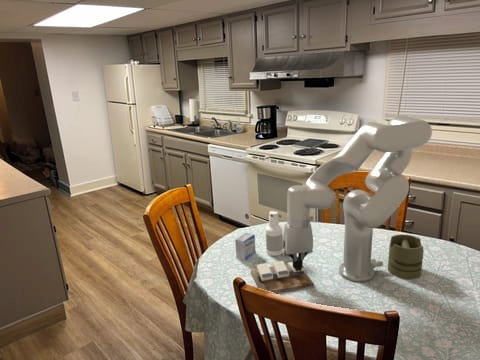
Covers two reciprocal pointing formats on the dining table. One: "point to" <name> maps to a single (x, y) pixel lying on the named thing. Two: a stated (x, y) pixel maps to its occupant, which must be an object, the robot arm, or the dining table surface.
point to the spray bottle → (274, 235)
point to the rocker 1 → (264, 272)
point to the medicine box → (245, 246)
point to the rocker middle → (280, 269)
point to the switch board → (283, 281)
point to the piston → (405, 256)
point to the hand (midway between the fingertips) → (297, 268)
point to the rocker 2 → (295, 268)
